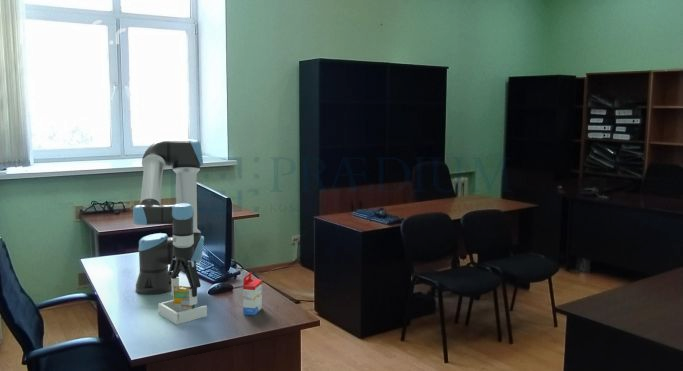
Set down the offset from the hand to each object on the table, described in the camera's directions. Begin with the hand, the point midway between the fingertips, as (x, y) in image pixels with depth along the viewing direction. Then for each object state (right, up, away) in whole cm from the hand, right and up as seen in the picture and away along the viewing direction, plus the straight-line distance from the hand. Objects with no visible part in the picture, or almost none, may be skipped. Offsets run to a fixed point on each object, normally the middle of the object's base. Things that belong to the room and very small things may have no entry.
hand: (184, 299), depth 220 cm
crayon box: (0, -6, +1) cm, 6 cm away
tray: (-1, -6, 0) cm, 6 cm away
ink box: (+25, -6, +6) cm, 26 cm away
